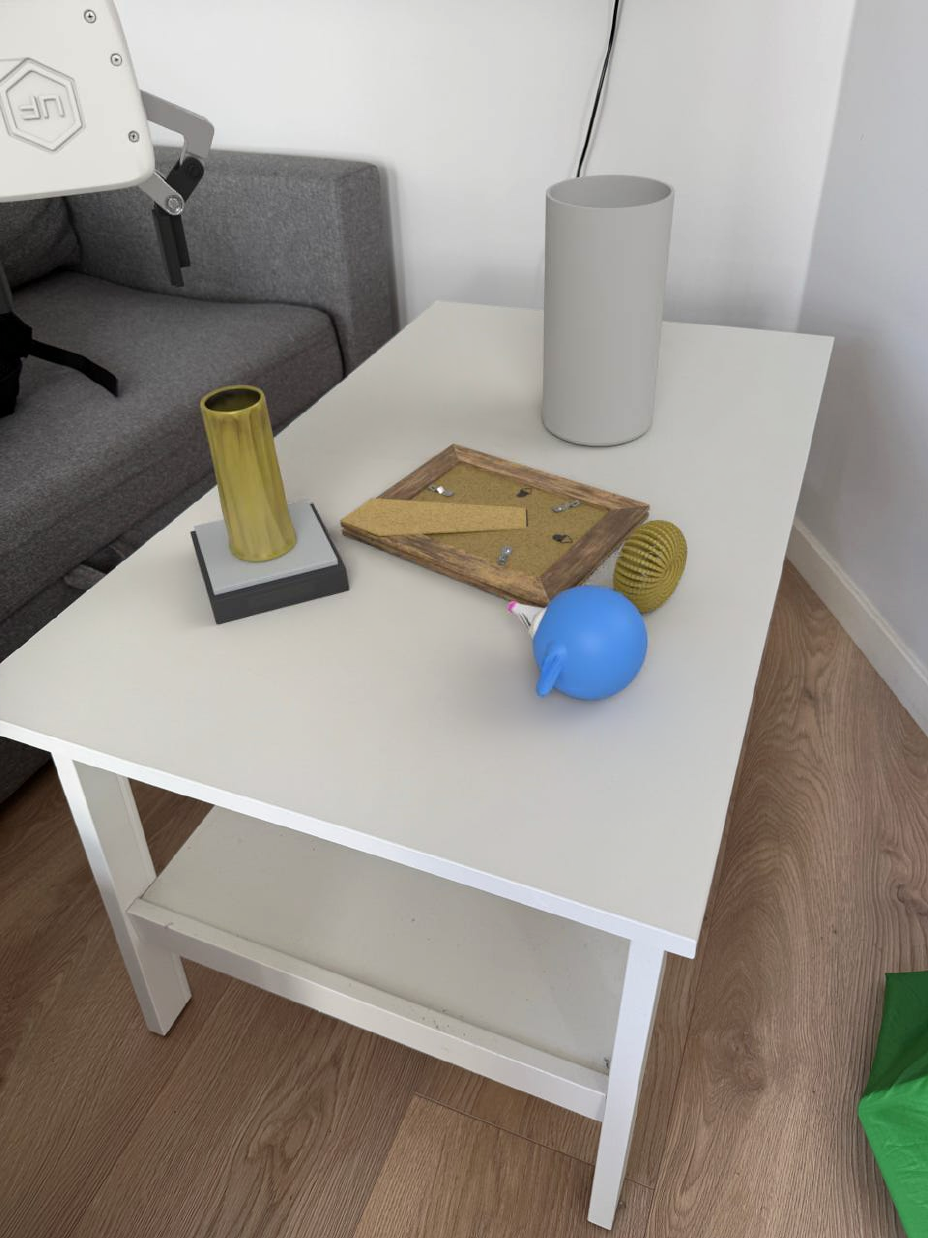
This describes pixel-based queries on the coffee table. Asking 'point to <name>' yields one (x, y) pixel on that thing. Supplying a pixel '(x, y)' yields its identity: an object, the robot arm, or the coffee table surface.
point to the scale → (269, 568)
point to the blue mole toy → (585, 641)
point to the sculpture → (650, 564)
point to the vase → (247, 473)
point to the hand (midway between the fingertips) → (92, 292)
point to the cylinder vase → (604, 305)
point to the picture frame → (497, 524)
